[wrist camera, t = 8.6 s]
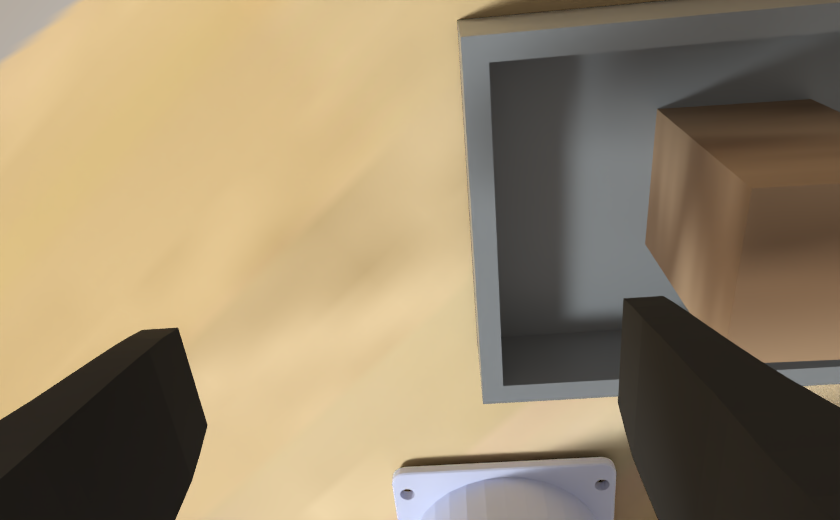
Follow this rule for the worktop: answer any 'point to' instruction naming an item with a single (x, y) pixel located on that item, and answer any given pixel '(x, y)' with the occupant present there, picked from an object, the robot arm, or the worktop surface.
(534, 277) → the bin
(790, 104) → the walnut block
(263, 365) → the worktop surface
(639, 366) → the robot arm
